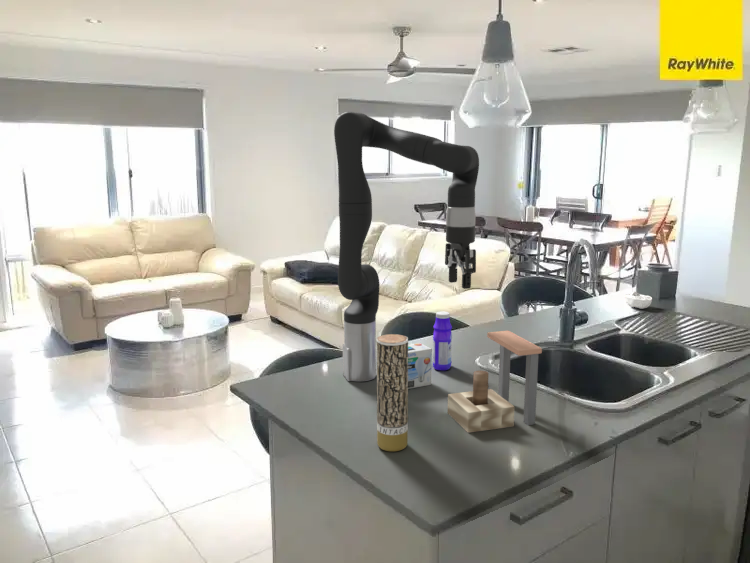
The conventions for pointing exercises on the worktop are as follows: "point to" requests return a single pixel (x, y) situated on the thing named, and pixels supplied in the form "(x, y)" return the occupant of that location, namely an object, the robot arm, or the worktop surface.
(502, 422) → the socket
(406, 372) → the paper tube
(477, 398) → the peg
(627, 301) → the cell model
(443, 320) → the bottle
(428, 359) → the light bulb box
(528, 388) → the wooden top bench
